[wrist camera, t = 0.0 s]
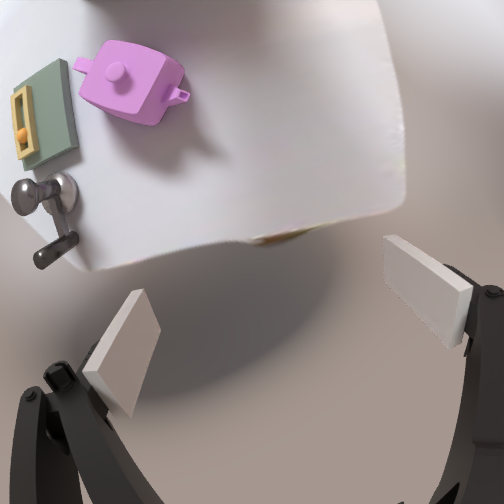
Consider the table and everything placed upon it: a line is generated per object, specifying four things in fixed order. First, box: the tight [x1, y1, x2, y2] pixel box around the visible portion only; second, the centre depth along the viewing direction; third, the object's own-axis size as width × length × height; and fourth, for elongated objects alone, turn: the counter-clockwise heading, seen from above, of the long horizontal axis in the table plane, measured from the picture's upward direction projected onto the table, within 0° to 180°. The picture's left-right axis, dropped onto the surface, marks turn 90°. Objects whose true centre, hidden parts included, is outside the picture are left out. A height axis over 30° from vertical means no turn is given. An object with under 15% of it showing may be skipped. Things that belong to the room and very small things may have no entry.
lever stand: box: [11, 58, 79, 171], centre depth 31 cm, size 16×11×5 cm
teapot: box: [72, 40, 191, 126], centre depth 30 cm, size 18×10×10 cm, turn 63°
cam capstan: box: [11, 172, 79, 270], centre depth 34 cm, size 13×7×11 cm, turn 12°
